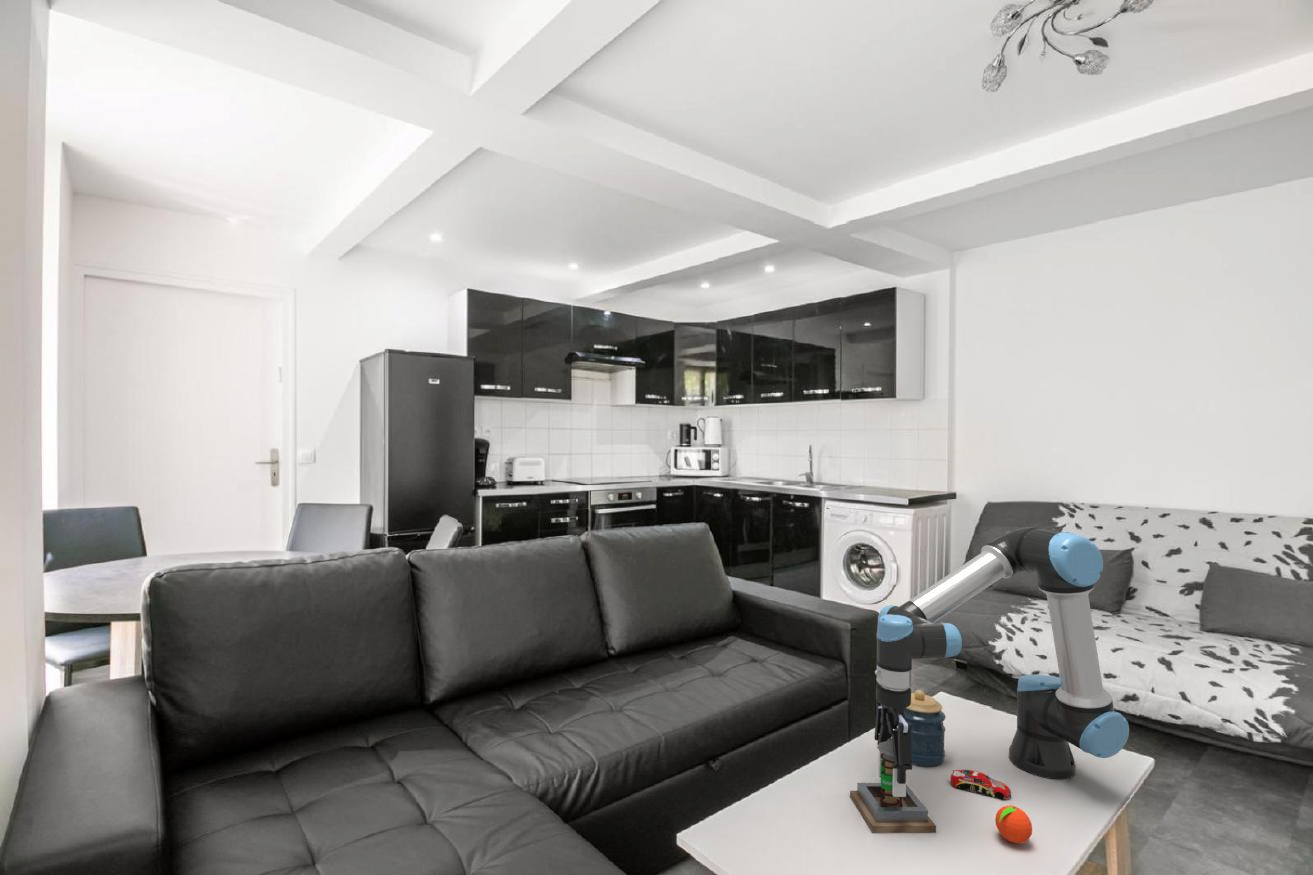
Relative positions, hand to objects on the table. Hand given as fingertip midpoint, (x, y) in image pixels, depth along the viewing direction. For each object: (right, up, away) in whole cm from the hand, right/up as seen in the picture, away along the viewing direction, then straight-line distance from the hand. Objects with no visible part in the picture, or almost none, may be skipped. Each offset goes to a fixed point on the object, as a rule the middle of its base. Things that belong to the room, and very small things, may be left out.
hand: (891, 785), depth 145 cm
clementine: (+22, -7, -9) cm, 25 cm away
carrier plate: (0, -6, 0) cm, 6 cm away
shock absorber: (0, -5, 0) cm, 5 cm away
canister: (+18, -7, +28) cm, 34 cm away
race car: (+26, -8, +11) cm, 29 cm away
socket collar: (0, -5, 0) cm, 5 cm away
